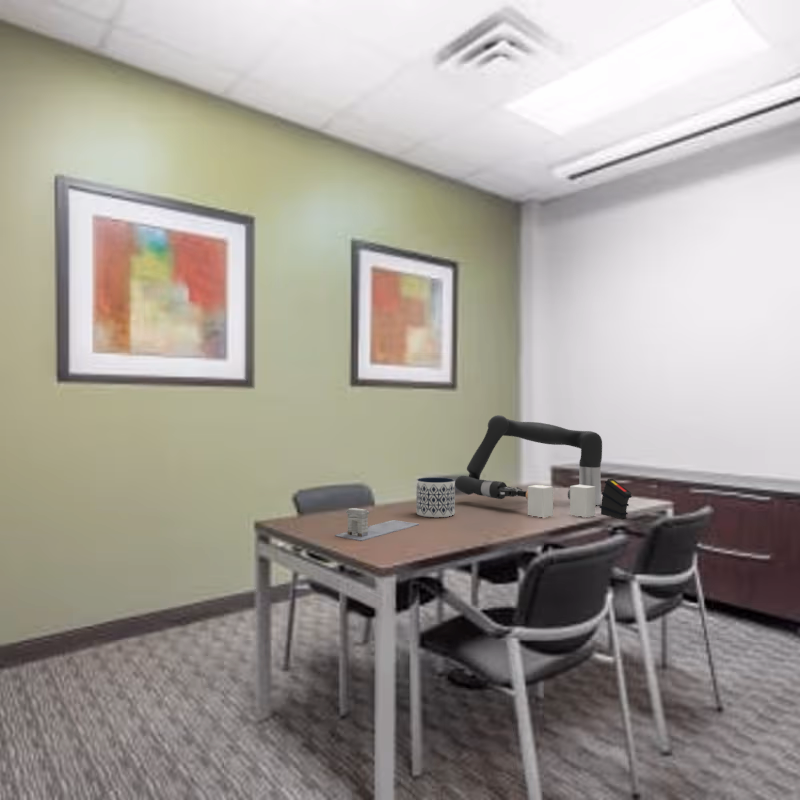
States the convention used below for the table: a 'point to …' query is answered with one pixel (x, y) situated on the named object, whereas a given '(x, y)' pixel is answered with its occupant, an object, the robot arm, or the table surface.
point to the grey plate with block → (362, 531)
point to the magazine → (614, 499)
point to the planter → (435, 497)
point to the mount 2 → (582, 500)
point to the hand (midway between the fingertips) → (526, 494)
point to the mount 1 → (540, 500)
